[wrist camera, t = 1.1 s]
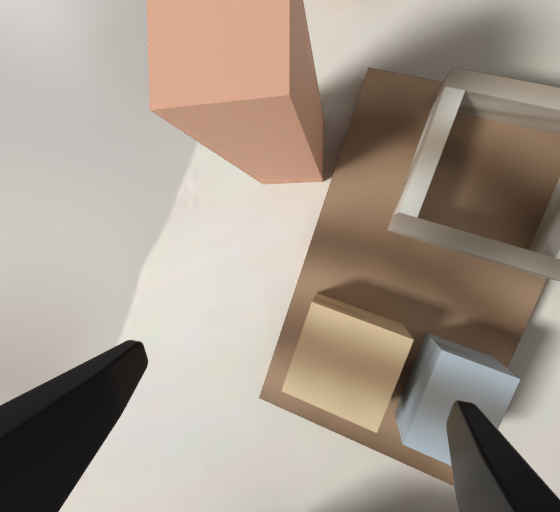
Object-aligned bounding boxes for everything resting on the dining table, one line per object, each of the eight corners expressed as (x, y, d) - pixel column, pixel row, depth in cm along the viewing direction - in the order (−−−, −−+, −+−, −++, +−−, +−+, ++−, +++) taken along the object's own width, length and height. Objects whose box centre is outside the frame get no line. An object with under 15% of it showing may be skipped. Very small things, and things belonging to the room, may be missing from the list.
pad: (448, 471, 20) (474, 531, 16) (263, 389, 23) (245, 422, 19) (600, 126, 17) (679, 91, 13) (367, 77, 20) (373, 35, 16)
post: (322, 181, 21) (289, 95, 8) (262, 184, 22) (149, 110, 9) (323, 117, 21) (289, -75, 8) (262, 122, 22) (145, -41, 9)
